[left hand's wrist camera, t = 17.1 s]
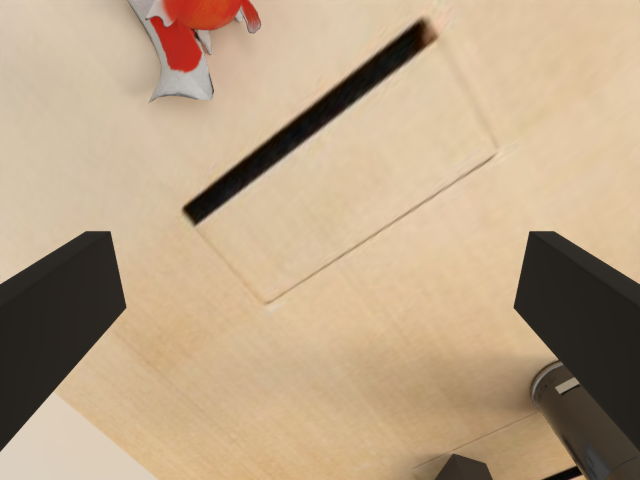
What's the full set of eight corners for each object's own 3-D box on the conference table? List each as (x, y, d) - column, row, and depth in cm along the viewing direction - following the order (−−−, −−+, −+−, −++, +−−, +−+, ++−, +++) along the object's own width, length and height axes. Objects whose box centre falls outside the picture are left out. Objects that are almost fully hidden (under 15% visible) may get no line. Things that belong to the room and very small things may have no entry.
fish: (314, 51, 34) (232, 26, 26) (207, 132, 43) (120, 133, 35) (267, -67, 33) (169, -130, 25) (169, 41, 42) (73, 19, 34)
